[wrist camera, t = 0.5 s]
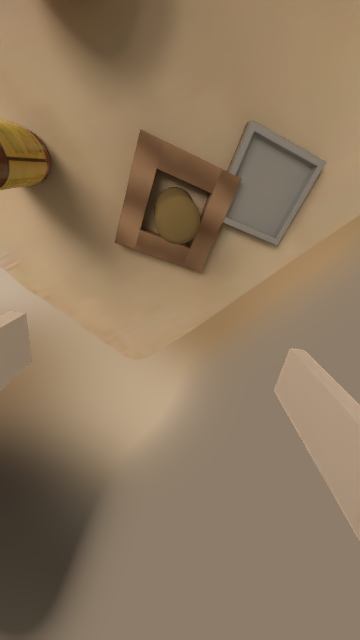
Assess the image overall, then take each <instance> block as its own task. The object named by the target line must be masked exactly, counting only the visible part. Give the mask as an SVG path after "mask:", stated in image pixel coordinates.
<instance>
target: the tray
mask: <svg viewBox="0 0 360 640" xmlns="http://www.w3.org/2000/svg"><path fill="white" fill-rule="evenodd" d="M325 164H326V162H325V161H324V160H322V159H320V158H318V157H317V156H315V155H313V154H311V153H310V152H308V151H306V150H304V149H303V148H301V147H299V146H297V145H296V144H294V143H292V142H290V141H289V140H287V139H285V138H283V137H281V136H280V135H278V134H276V133H274V132H273V131H271V130H269V129H267V128H266V127H264V126H262V125H260V124H259V123H257V122H255V121H253V120H251V121H249V122H248V123H247V125H246V127H245V130H244V132H243V135H242V137H241V139H240V142H239V144H238V147H237V149H236V152H235V154H234V156H233V159H232V161H231V164H230V166H229V169H228V171H227V172H229V173H231V174H233V175H235V176H237V177H239V178H241V179H242V180H241V182H240V184H239V186H238V189H237V191H236V193H235V195H234V198H233V200H232V202H231V204H230V207H229V209H228V211H227V213H226V216H225V218H224V220H223V223H226V224H228V225H230V226H233V227H235V228H237V229H240V230H242V231H244V232H247V233H249V234H251V235H254V236H256V237H259V238H261V239H263V240H266V241H268V242H270V243H273V244H275V245H278V243H279V241H280V240H281V238H282V236H283V235H284V233H285V231H286V230H287V228H288V226H289V225H290V223H291V221H292V219H293V218H294V216H295V214H296V213H297V211H298V209H299V208H300V206H301V204H302V203H303V201H304V199H305V197H306V196H307V194H308V192H309V191H310V189H311V187H312V186H313V184H314V182H315V180H316V179H317V177H318V175H319V174H320V172H321V170H322V169H323V167H324V165H325Z"/></svg>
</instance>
